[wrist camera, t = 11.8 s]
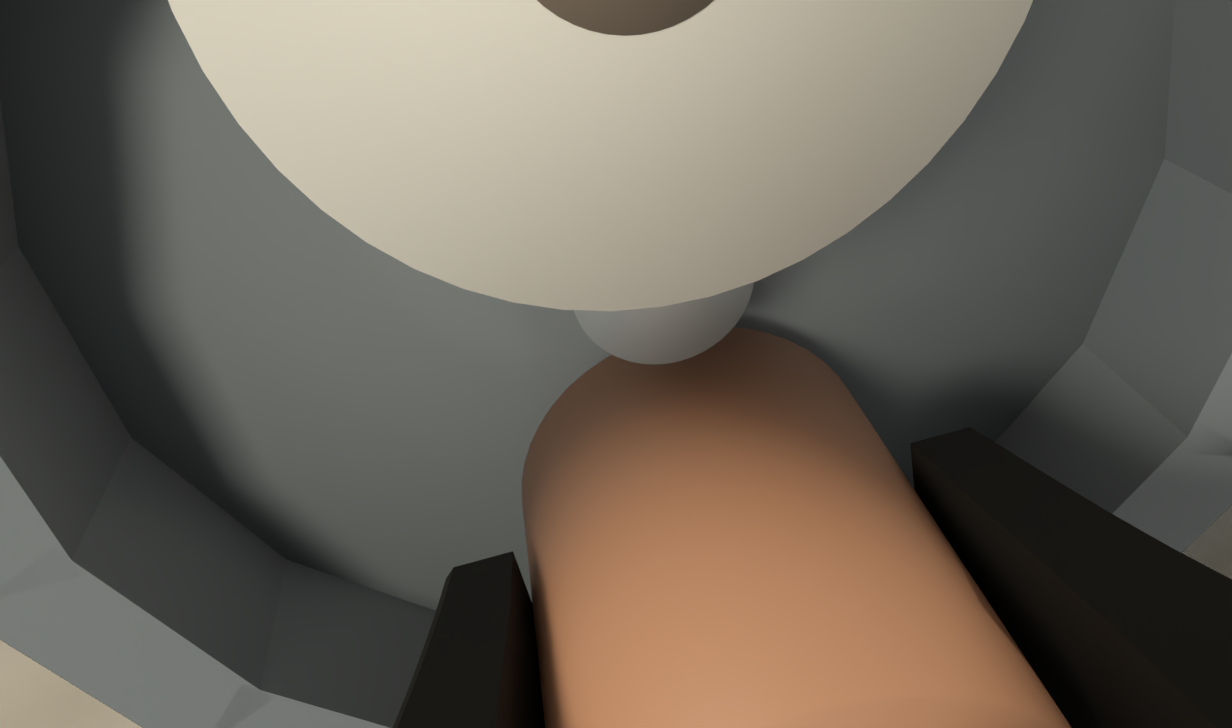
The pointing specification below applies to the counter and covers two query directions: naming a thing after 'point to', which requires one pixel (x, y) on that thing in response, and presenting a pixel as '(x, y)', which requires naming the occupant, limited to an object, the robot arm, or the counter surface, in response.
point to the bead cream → (600, 127)
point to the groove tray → (533, 352)
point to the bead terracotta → (749, 560)
